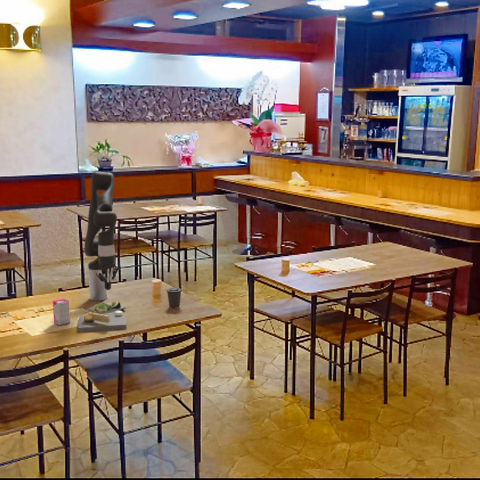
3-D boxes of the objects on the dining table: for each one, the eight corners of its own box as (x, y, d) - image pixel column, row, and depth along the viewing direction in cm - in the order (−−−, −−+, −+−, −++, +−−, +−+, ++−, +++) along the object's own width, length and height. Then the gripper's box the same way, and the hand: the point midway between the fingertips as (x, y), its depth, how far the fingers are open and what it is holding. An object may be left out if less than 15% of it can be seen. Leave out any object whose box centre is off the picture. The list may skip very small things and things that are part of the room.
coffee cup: (179, 309, 318) (179, 291, 316) (164, 308, 319) (164, 290, 317) (184, 305, 326) (183, 286, 324) (169, 304, 327) (169, 286, 325)
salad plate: (107, 320, 302) (106, 311, 301) (78, 315, 309) (77, 306, 308) (129, 309, 319) (129, 301, 318) (101, 305, 326) (101, 296, 326)
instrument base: (79, 319, 302) (79, 312, 301) (124, 316, 306) (124, 309, 306) (78, 332, 284) (77, 324, 284) (126, 328, 289) (126, 321, 288)
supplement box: (70, 323, 296) (69, 300, 294) (59, 326, 292) (58, 303, 290) (64, 320, 300) (63, 298, 298) (53, 323, 296) (52, 300, 294)
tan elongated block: (89, 318, 297) (88, 310, 296) (112, 322, 290) (111, 314, 289) (81, 321, 293) (81, 313, 292) (105, 325, 286) (104, 317, 285)
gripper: (110, 250, 295) (112, 285, 298) (90, 255, 284) (91, 291, 287) (122, 252, 291) (123, 287, 294) (102, 257, 280) (103, 294, 283)
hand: (107, 289), depth 291 cm, fingers closed
